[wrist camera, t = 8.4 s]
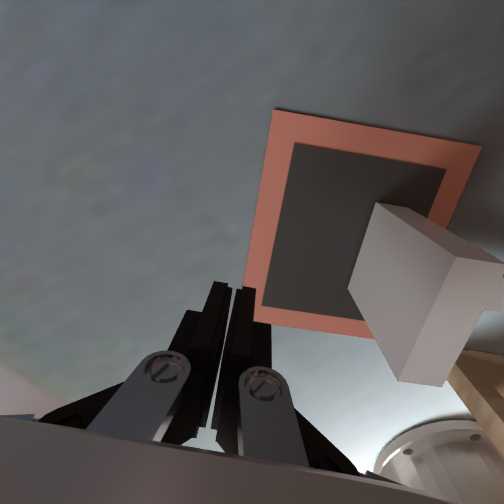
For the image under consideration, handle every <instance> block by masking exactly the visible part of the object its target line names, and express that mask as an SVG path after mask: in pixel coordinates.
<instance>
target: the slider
mask: <svg viewBox="0 0 504 504" xmlns="http://www.w3.org/2000/svg"><path fill="white" fill-rule="evenodd" d="M348 290H349V292H350V294H351V296H352V297H353V299H354V301H355V303H356V305H357V307H358V309H359V310H360V312H361V314H362V316H363V318H364V320H365V322H366V323H367V325H368V327H369V329H370V331H371V333H372V334H373V336H374V338H375V340H376V342H377V344H378V346H379V347H380V349H381V351H382V353H383V355H384V357H385V359H386V360H387V362H388V364H389V366H390V368H391V370H392V372H393V373H394V375H395V377H396V379H397V381H401V382H408V383H415V384H423V385H430V386H437V387H442V386H443V384H444V382H445V380H446V378H447V377H448V375H449V373H450V371H451V369H452V368H453V366H454V364H455V362H456V360H457V359H458V357H459V355H460V353H461V351H462V349H463V348H464V346H465V344H466V342H467V340H468V339H469V337H470V335H471V333H472V331H473V329H474V328H475V326H476V324H477V322H478V320H479V319H480V317H481V315H482V313H483V311H484V310H489V311H495V312H502V313H504V262H503V261H501V260H499V259H497V258H495V257H494V256H492V255H490V254H488V253H487V252H485V251H483V250H481V249H480V248H478V247H476V246H474V245H473V244H471V243H469V242H467V241H466V240H464V239H462V238H460V237H459V236H457V235H455V234H453V233H452V232H450V231H448V230H446V229H445V228H443V227H441V226H439V225H438V224H436V223H434V222H432V221H431V220H429V219H427V218H425V217H424V216H422V215H420V214H418V213H416V212H415V211H413V210H411V209H409V208H407V207H401V206H395V205H389V204H383V203H377V202H376V203H375V206H374V209H373V212H372V215H371V218H370V221H369V224H368V228H367V231H366V234H365V237H364V240H363V243H362V246H361V249H360V252H359V255H358V258H357V261H356V264H355V267H354V270H353V273H352V276H351V279H350V282H349V286H348Z"/></svg>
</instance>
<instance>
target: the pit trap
mask: <svg viewBox="0 0 504 504" xmlns="http://www.w3.org/2000/svg"><path fill="white" fill-rule="evenodd" d="M481 148H482V146H477V145H471V144H466V143H460V142H454V141H449V140H443V139H437V138H432V137H426V136H420V135H415V134H409V133H403V132H398V131H392V130H387V129H381V128H375V127H370V126H364V125H358V124H353V123H347V122H341V121H336V120H330V119H324V118H319V117H313V116H308V115H302V114H296V113H291V112H285V111H279V110H274V109H273V113H272V119H271V124H270V130H269V136H268V142H267V148H266V154H265V160H264V166H263V171H262V177H261V183H260V189H259V195H258V201H257V207H256V213H255V218H254V224H253V230H252V236H251V242H250V248H249V254H248V260H247V265H246V271H245V277H244V283H243V286H246V287H252V288H256V298H255V309H254V321H256V322H262V323H268V324H273V325H280V326H287V327H294V328H301V329H308V330H314V331H321V332H328V333H335V334H342V335H349V336H356V337H363V338H370V339H375V338H374V336H373V334H372V333H371V331H370V329H369V327H368V325H367V323H366V322H365V320H364V318H363V316H362V314H361V312H360V310H359V309H358V307H357V305H356V303H355V301H354V299H353V297H352V296H351V294H350V292H349V290H348V286H349V282H350V279H351V276H352V273H353V270H354V267H355V264H356V261H357V258H358V255H359V252H360V249H361V246H362V243H363V240H364V237H365V234H366V231H367V228H368V224H369V221H370V218H371V215H372V212H373V209H374V206H375V203H376V202H377V203H383V204H389V205H395V206H401V207H407V208H409V209H411V210H413V211H415V212H416V213H418V214H420V215H422V216H424V217H425V218H427V219H429V220H431V221H432V222H434V223H436V224H438V225H439V226H441V227H443V228H445V229H446V228H447V226H448V224H449V222H450V219H451V217H452V215H453V212H454V210H455V208H456V205H457V203H458V201H459V199H460V196H461V194H462V192H463V189H464V187H465V185H466V183H467V180H468V178H469V176H470V173H471V171H472V169H473V167H474V164H475V162H476V160H477V157H478V155H479V153H480V151H481Z"/></svg>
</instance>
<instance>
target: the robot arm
mask: <svg viewBox="0 0 504 504" xmlns="http://www.w3.org/2000/svg"><path fill="white" fill-rule="evenodd" d="M231 295H232V288H231V287H228V283H223V282H217V281H214V283H213V285H212V288H211V290H210V293H209V296H208V298H207V301H206V303H205V306H204V308H203V311H202V312H198V311H192V310H187V311H186V313H185V315H184V317H183V319H182V321H181V323H180V325H179V327H178V329H177V331H176V333H175V336H174V338H173V340H172V342H171V344H170V346H169V348H168V350H167V351H159V352H155V353H152V354H150V355H148V356H147V357H145V358H144V359H143V360H142V361H141V362H140V364H139V365H138V366H137V367H136V368H135V370H134V371H133V372H132V373H131V375H130V376H129V377H128V378H127V379H126V381H125V382H122V383H120V384H117V385H115V386H112V387H110V388H107V389H105V390H102V391H100V392H97V393H95V394H93V395H90V396H88V397H85V398H83V399H80V400H78V401H75V402H73V403H70V404H68V405H65V406H63V407H61V408H58V409H56V410H54V411H52V412H50V413H48V414H46V415H45V416H43V417H42V418H41V419H35V414H25V415H0V504H504V457H503V456H502V455H501V453H500V452H499V451H498V449H497V448H496V446H495V445H494V444H493V442H492V441H491V440H490V438H489V437H488V436H487V434H486V433H485V431H484V430H483V429H482V427H481V426H480V425H479V423H478V422H476V421H470V420H447V421H439V422H434V423H430V424H425V425H423V426H420V427H417V428H414V429H412V430H410V431H408V432H406V433H404V434H402V435H400V436H399V437H397V438H396V439H395V440H393V441H392V442H390V443H389V444H388V445H387V446H386V447H385V448H384V449H383V451H382V452H381V454H380V455H379V457H378V458H377V460H376V463H375V466H374V472H373V473H372V472H370V471H366V473H365V475H364V474H362V473H359V472H358V471H357V469H356V467H355V466H354V465H353V464H352V462H351V461H350V460H349V459H348V458H347V457H346V456H345V455H344V454H343V453H342V452H341V451H339V450H338V449H337V448H336V447H335V446H334V445H333V444H332V443H331V442H330V441H329V440H328V439H327V438H326V437H325V436H324V435H323V434H321V433H320V432H319V431H318V430H317V429H316V428H315V427H314V426H313V425H312V424H311V423H310V422H309V421H308V420H307V419H306V418H304V417H303V416H302V415H301V414H300V413H299V412H298V411H297V410H296V409H295V408H294V406H293V402H292V398H291V394H290V390H289V386H288V384H287V382H286V380H285V379H284V378H283V376H282V375H281V374H279V373H278V372H276V371H275V370H273V369H272V348H271V324H268V323H262V322H256V321H254V309H255V298H256V288H252V287H246V286H243V288H242V289H237V290H236V295H235V299H234V304H233V309H232V313H231V318H230V323H229V327H228V332H227V336H226V341H225V346H224V351H223V356H222V362H221V368H220V374H219V381H218V387H217V393H216V399H215V405H214V412H213V418H212V424H211V429H216V430H217V435H216V442H218V444H219V445H220V446H221V448H222V449H223V450H224V452H225V453H223V452H217V451H211V450H205V449H200V448H194V447H188V446H182V444H183V443H185V442H186V441H188V440H189V439H191V438H196V437H197V433H198V429H199V427H204V428H205V427H206V423H207V419H208V414H209V409H210V405H211V400H212V396H213V391H214V387H215V382H216V378H217V373H218V369H219V364H220V360H221V355H222V350H223V345H224V339H225V333H226V326H227V320H228V314H229V308H230V301H231Z"/></svg>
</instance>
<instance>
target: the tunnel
mask: <svg viewBox="0 0 504 504" xmlns="http://www.w3.org/2000/svg"><path fill="white" fill-rule="evenodd" d="M446 380H447V381H448V382H449V384H450V385H451V386H452V388H453V389H454V390H455V392H456V393H457V395H458V396H459V397H460V399H461V400H462V401H463V403H464V404H465V406H466V407H467V408H468V410H469V411H470V412H471V414H472V415H473V416H474V418H475V419H476V421H477V422H478V423H479V425H480V426H481V427H482V429H483V430H484V431H485V433H486V434H487V436H488V437H489V438H490V440H491V441H492V442H493V444H494V445H495V446H496V448H497V449H498V451H499V452H500V453H501V455H502V456H503V457H504V355H500V354H493V353H486V352H479V351H472V350H465V349H462V351H461V353H460V355H459V357H458V359H457V360H456V362H455V364H454V366H453V368H452V369H451V371H450V373H449V375H448V377H447V378H446Z"/></svg>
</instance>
